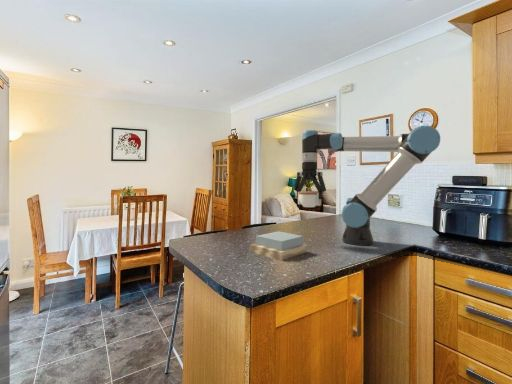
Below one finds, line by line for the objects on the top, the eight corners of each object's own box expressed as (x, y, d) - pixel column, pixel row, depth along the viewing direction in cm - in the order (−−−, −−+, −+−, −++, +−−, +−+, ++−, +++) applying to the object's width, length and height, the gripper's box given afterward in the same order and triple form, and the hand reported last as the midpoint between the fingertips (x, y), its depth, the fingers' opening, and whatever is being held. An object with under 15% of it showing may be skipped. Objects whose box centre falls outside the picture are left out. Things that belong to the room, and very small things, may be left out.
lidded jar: (294, 206, 143) (294, 188, 143) (311, 205, 147) (311, 188, 147) (306, 208, 133) (306, 189, 133) (324, 207, 137) (324, 188, 137)
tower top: (302, 244, 124) (303, 236, 124) (281, 250, 114) (281, 241, 114) (277, 239, 135) (278, 231, 135) (256, 244, 124) (256, 235, 124)
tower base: (306, 253, 124) (306, 244, 124) (281, 262, 112) (281, 252, 111) (276, 246, 137) (276, 238, 137) (250, 253, 124) (250, 244, 124)
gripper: (286, 162, 144) (286, 203, 146) (325, 160, 128) (325, 207, 129) (295, 162, 150) (295, 202, 151) (334, 161, 134) (333, 206, 135)
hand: (309, 204), depth 140 cm, fingers closed on lidded jar, 11 cm apart
